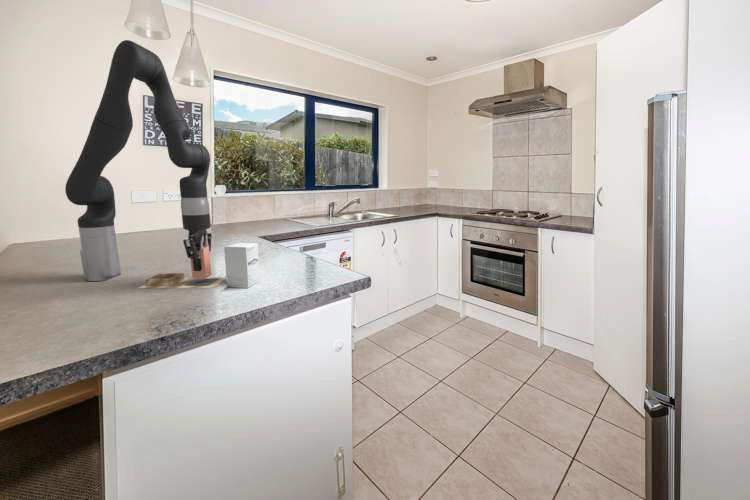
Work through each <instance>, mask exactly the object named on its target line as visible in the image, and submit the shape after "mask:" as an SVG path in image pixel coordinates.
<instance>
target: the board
mask: <svg viewBox="0 0 750 500" xmlns="http://www.w3.org/2000/svg"><path fill="white" fill-rule="evenodd" d="M225 280H227V279H226V276H225V277H223V276H222V277H221V276H220V277H211V276H209V277H207V278H192V277H185V272H159V273H157V274H155V275H152V276H151V277H148V278H146V279H145V283H144V284H142V285H140V286H137V289H188V288H189V289H192V288H193V289H199V288H200V289H202V288H203V289H204V288H205V289H207V288H208V289H211V288H215V287H216V286H217V285H219V284H220V283H222V282H223V281H225Z"/></svg>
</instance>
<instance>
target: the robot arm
mask: <svg viewBox="0 0 750 500" xmlns="http://www.w3.org/2000/svg"><path fill="white" fill-rule="evenodd" d="M134 79H135V80H138V81H139V82H142V83H144V84H145V85H146V86H147V87H148V89H149V90H150V91H151V93H152V95H153V99H154V100H153V101H154V103H153V114H154V116H155V120H156V122H157V124H158V126H159V128H160V129H161V132H162V133H163V135H164V138H165V142H166V147H167V148H166V149H167V152H168V153H167V154H168V157H169V160H170V161H171V162H172V163H173V165H174V166H176V167H178V168H180V169H191V170H190V173H189V175H187V176H184V177H181V178H180V179H179V192H180V193H179V195H180V210H181V211H180V212H181V220H182V221H181V222H182V228H183V229H184V230H186V231H188V235H187V239H183V242H182V243H183V246H184V249H185V253H186V256H187V258H188V259H190V258H191V259H192V260H193V270H194V271H201V270H202V265H201V259H200V258H201V251H202V249H203V247H208V246H209V253H211V250H212V236H213V235H212V233H211V232H210V233H209V232H207V230H208V229H210V228H211V227H212V222H211V213H210V203H209V198H208V189H207V181H208V176H209V170H210V165H211V155H210V152H209V150H208V148H207V147H206V146H205V145H203V144H202V143H196V142H195V143H194V142H193V143H192V142H186V141H187V140H188V139H189V138H190V137H191V135H192V132H191V131H192V130H191V128H190V126H189V124H188V122H187V120H186V119H185V117H184V115H183V113H182V111H181V109H180V107H179V106H178V103H177V101H176V99H175V95H174V93H173V89H172V87H171V85H170V82H169V81H170V80H169V78H168V75H167V72H166V70H165V67H164V63H163V62H162V60H161V58H160V57H159V56H158V55H157V54H156V53H155V52H153V51H151V50H149V49H147V48H146V47H144V46H143V45H140V44H138V43H136V42H134V41H132V40H129V39H124V40H122V41H121V42H120V43H119V44H118V45H117V46H116V47H115V50H114V52H113V55H112V59H111V63H110V67H109V72H108V76H107V80H106V84H105V88H104V90H103V94H102V97H101V100H100V103H99V106H98V108H97V110H96V112H95V115H94V117H93V120H92V122H91V126H90V129H89V132H88V135H87V137H86V140H85V143H84V145H83V148H82V150H81V153H80V155H79V157H78V159H77V161H76V163H75V165H74V167H73V168H72V170H71V173H70V174H69V176H68V178H67V180H66V183H65V188H64V189H65V190H64V191H65V195H66V198H67V199H68V200H69V202H70V203H72V204H74V205H77V206H86V211H85V212H84V213H83V214H82V215H81V216H79V217H78V219H77V227H78V232H79V239H80V240H79V241H80V247H81V249H80V251H79V252H80V260H81V265H82V273H83V278H84V280H86V281H89V282H100V281H101V282H102V281H108V280H111V279H113V278H116V277H118V276H120V275H122V271H121V263H120V257H119V255H120V254H119V249H118V243H117V236H116V235H117V234H116V229H115V218H116V213H117V212H116V211H117V209H116V199H115V192H114V187H113V185H112V183H111V181H110V180H109V179H107V177H105V176H104V175H102V173H103V170H104V169H105V168H106V166H107V165H108V164H109V163H110V162H111V161H112V160H113V159H114V158H115V157H116V156H117V155H119V153H120V152H121V151H123V149H124V148H125V147H126V145H127V144H128V143H127V142H128V140H129V137H130V135H131V133H132V131H133V127H134V121H133V119H134V118H133V116H132V115H133V114H132V110H131V106H130V101H129V96H130V95H129V94H130V90H131V87H132V83H133V80H134ZM196 247H199V248H196ZM190 251H191V253H190ZM197 251H198V254H197ZM191 259H190V260H191Z"/></svg>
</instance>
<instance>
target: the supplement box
mask: <svg viewBox="0 0 750 500" xmlns="http://www.w3.org/2000/svg"><path fill="white" fill-rule="evenodd" d="M223 248H224V249H223V250H224V260H225V261H224V263H225V275H226V276H225V277H226V279H225V280H226V284H227V285H226V288H227V287H228V288H240V289H249V288H250V287H252V286H254V285H256V284H258V283H259V282H261V281H260V280H261V278H260V261H259V244H258V243H255V242H253V243H252V242H236V243H233V244H229V245H227V246H224V247H223Z"/></svg>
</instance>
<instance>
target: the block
mask: <svg viewBox="0 0 750 500" xmlns="http://www.w3.org/2000/svg"><path fill="white" fill-rule="evenodd" d="M196 248H199V247H196ZM190 253H191V251H190ZM210 253H211V252H209V246H208V247H203V249H202V251H201V258H200V259H201V265H202V270H201V271H194V270H193V260H192V259H191V258H189V260H190V267H191V274H192V275H191V276H192V277H191V278H207V277H211V276H212V267H211V266H212V265H211V257H210V255H211V254H210ZM197 254H198V251H197Z"/></svg>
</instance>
